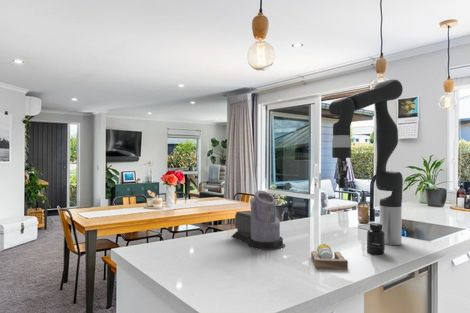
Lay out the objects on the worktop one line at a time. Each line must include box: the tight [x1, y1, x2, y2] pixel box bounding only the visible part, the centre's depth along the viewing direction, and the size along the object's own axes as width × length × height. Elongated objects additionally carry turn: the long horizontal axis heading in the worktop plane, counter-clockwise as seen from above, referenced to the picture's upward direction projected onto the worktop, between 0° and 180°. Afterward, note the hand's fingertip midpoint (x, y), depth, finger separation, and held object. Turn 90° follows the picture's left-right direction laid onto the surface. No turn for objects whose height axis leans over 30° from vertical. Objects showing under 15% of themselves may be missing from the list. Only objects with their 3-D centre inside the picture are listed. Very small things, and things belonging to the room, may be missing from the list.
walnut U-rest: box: [310, 250, 349, 271], centre depth 121 cm, size 13×11×3 cm
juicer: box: [231, 189, 286, 251], centre depth 152 cm, size 30×16×24 cm, turn 32°
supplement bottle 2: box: [366, 222, 386, 256], centre depth 134 cm, size 7×7×12 cm
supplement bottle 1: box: [316, 243, 334, 259], centre depth 125 cm, size 5×5×10 cm
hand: (341, 187), depth 135 cm, fingers closed
